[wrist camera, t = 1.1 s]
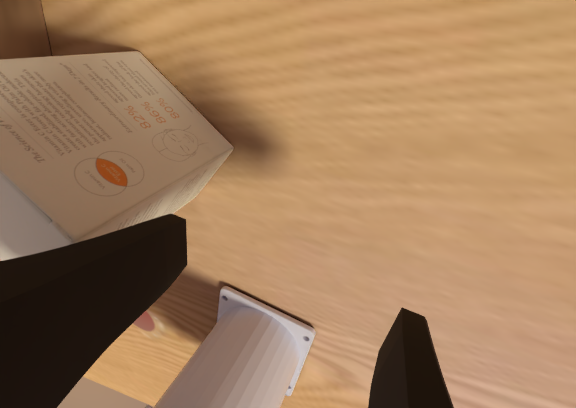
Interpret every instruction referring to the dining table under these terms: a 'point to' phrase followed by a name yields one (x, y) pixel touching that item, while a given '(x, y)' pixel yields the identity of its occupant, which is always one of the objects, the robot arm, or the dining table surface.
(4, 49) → the walnut board
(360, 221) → the dining table surface
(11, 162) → the small box
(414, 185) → the dining table surface
